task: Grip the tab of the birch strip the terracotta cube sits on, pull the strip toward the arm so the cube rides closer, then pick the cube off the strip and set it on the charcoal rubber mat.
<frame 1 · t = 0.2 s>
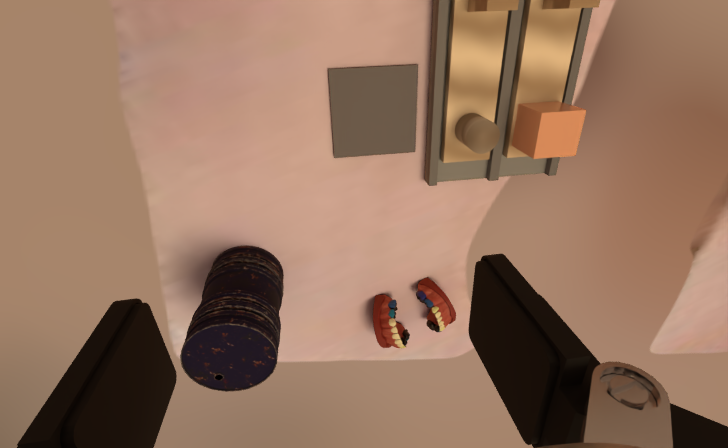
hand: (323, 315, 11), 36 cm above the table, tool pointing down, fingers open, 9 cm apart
brown post: (469, 128, 45), point 2 cm above the table, touching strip
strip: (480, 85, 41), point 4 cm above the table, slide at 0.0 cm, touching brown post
storage jar: (248, 274, 53), on the table
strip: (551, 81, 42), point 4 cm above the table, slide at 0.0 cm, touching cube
teeth model: (408, 304, 60), on the table
mat: (374, 112, 45), on the table
cube: (534, 124, 46), point 2 cm above the table, touching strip
lane board: (498, 83, 45), on the table
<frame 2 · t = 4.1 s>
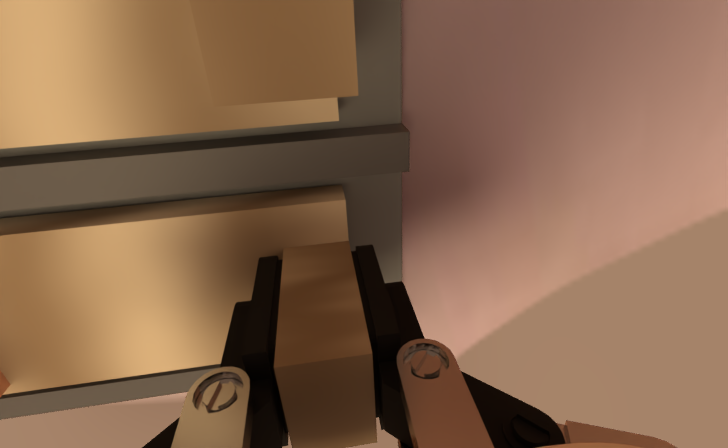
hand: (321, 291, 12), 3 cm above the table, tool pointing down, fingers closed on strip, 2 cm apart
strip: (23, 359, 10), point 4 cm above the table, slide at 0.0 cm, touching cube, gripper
lane board: (28, 166, 12), on the table
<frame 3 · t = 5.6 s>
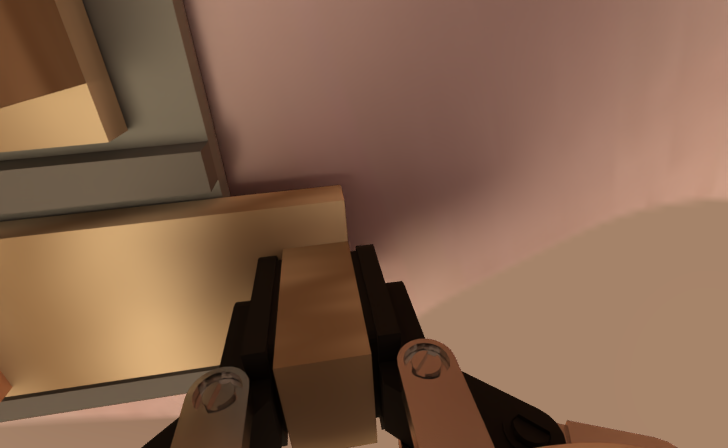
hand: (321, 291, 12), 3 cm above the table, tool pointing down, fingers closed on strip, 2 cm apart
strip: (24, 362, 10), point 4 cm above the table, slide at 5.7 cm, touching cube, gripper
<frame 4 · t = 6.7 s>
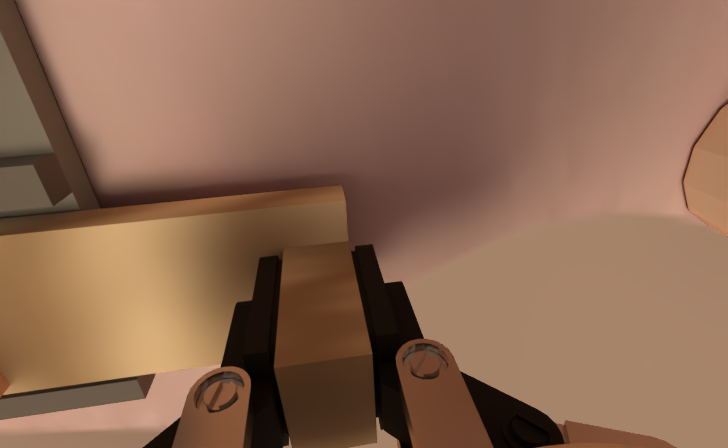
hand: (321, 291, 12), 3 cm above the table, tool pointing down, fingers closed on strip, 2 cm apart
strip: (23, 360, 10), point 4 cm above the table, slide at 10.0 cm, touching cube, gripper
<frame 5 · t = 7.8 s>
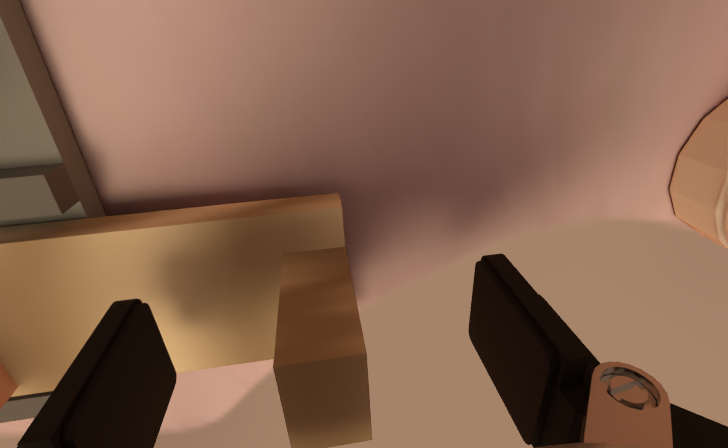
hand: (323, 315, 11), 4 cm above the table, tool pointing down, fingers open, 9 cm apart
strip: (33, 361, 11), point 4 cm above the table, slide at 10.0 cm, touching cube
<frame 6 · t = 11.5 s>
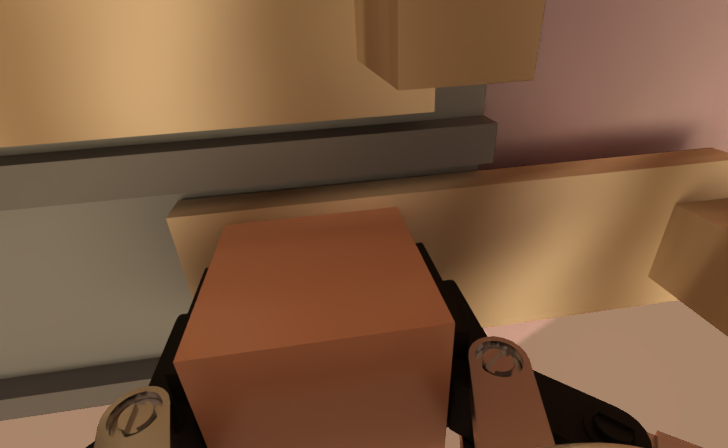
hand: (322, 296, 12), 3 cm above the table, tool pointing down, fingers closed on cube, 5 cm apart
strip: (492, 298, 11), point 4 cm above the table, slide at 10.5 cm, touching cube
cube: (321, 284, 12), point 2 cm above the table, touching gripper, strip
lane board: (113, 158, 12), on the table
when the fingers open (2 cm above the table, at t = 17.0 s): cube drops 1 cm, resting on mat.
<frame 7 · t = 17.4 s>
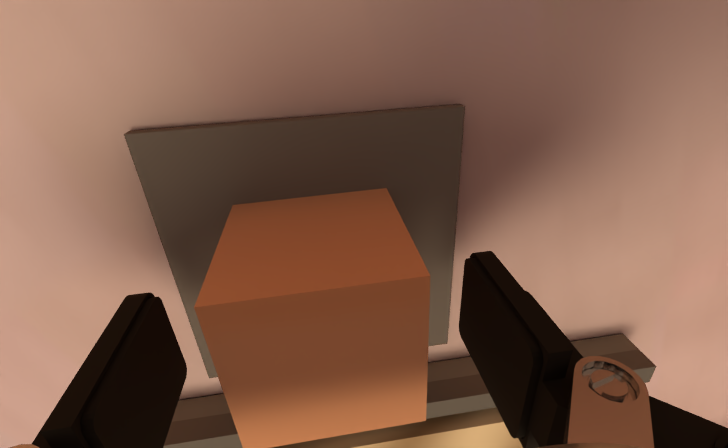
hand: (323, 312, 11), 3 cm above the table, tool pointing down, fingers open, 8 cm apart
mat: (319, 254, 14), on the table
cube: (319, 260, 14), resting on mat
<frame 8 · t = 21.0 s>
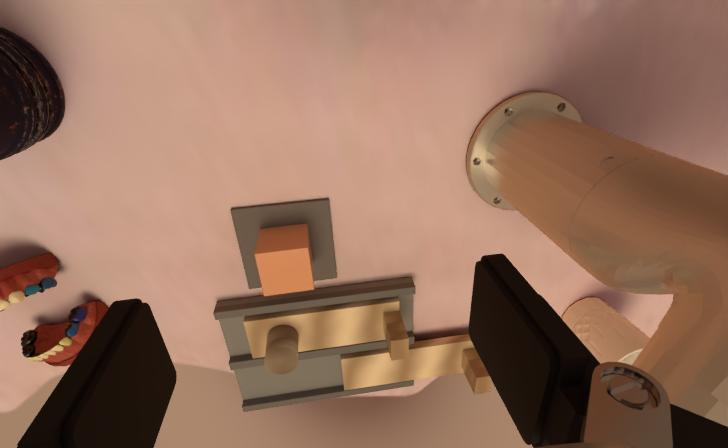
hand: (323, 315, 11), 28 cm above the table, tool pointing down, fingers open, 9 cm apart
brown post: (282, 336, 45), point 2 cm above the table, touching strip
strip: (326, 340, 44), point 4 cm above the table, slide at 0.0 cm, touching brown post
white cup: (582, 314, 54), on the table
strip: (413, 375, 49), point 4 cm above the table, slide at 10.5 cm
teeth model: (51, 295, 41), on the table
mat: (287, 244, 42), on the table
cube: (287, 246, 42), resting on mat
lane board: (323, 341, 50), on the table
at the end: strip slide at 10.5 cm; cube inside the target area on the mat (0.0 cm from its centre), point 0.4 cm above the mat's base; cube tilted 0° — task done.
